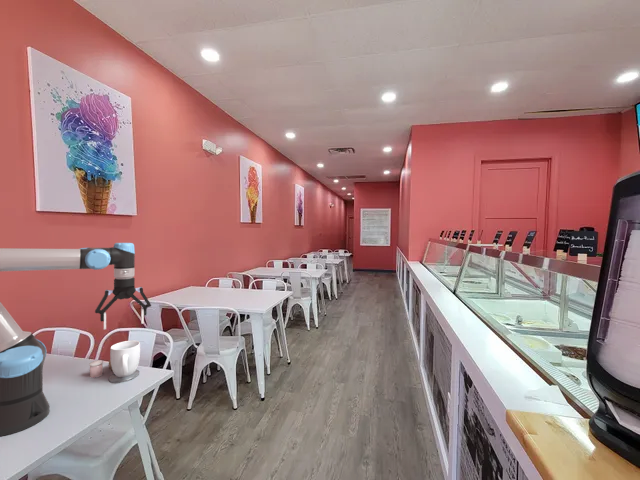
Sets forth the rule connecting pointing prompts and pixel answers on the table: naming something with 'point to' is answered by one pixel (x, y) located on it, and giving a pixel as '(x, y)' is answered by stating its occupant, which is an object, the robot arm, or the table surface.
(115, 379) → the coaster
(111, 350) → the mug
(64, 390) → the table surface
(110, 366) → the walnut cube
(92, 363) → the pink jar
